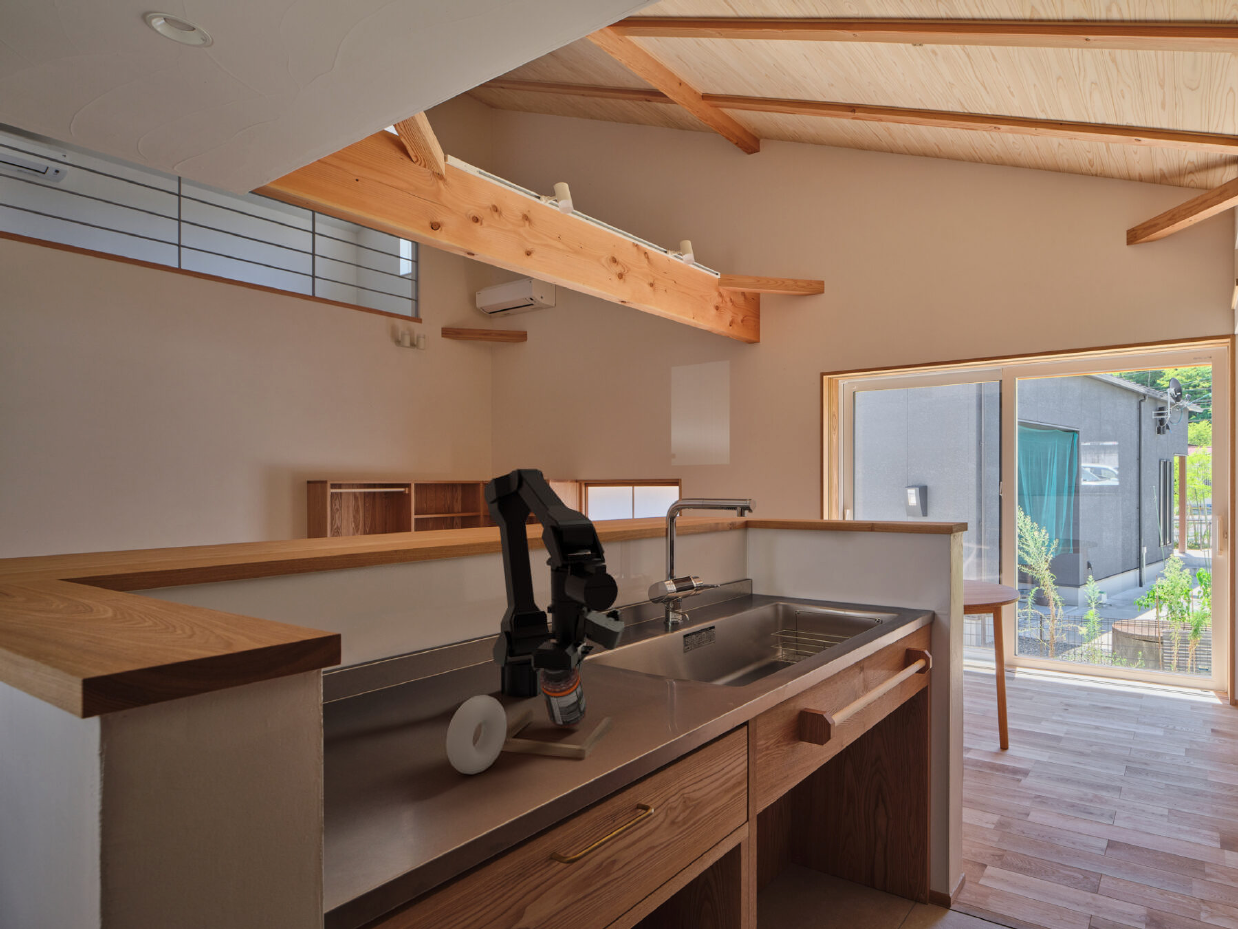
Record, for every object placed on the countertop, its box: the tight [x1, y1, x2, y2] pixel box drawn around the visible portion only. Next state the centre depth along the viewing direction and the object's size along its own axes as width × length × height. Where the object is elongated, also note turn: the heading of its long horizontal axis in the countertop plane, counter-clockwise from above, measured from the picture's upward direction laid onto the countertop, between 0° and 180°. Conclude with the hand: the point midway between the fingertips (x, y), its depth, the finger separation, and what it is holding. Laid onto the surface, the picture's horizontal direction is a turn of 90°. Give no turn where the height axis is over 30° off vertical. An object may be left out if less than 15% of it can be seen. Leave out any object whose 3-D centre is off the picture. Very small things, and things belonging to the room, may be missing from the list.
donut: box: [445, 694, 508, 776], centre depth 97 cm, size 10×4×10 cm, turn 148°
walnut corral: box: [500, 708, 613, 759], centre depth 109 cm, size 14×13×2 cm
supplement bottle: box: [540, 666, 587, 729], centre depth 112 cm, size 6×6×11 cm
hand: (571, 694), depth 117 cm, fingers closed, pressing on supplement bottle
